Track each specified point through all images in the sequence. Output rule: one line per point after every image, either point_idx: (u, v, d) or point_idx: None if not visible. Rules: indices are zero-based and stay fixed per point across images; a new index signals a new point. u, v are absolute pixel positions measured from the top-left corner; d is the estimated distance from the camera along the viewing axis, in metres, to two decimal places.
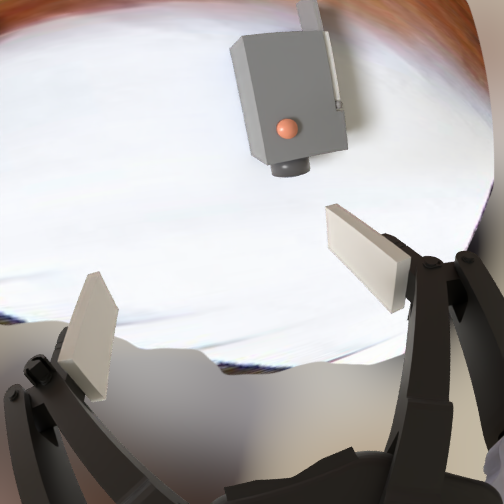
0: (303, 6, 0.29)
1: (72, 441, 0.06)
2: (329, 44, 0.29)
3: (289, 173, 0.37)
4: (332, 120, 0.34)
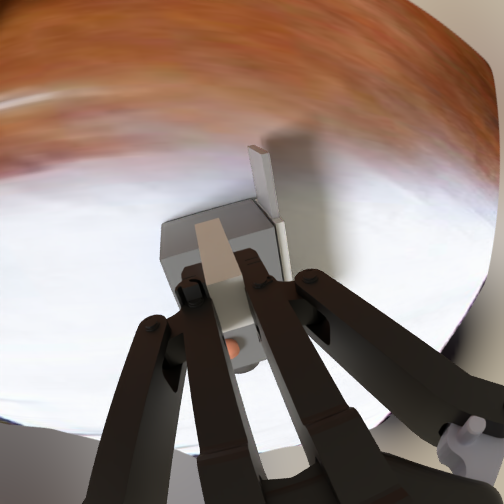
0: (255, 162, 0.27)
1: (192, 372, 0.08)
2: (284, 240, 0.27)
3: (236, 371, 0.35)
4: None
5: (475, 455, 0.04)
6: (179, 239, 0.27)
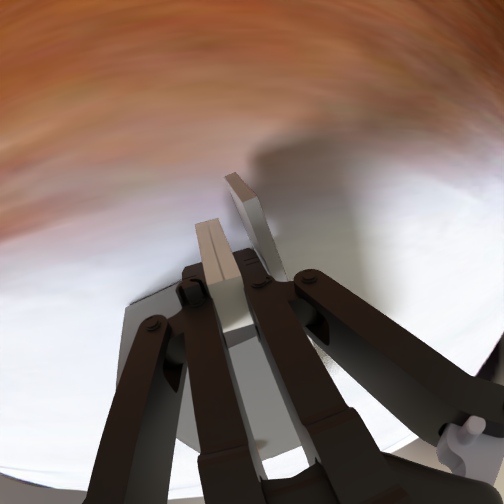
0: (239, 206, 0.16)
1: (193, 372, 0.08)
2: None
3: None
4: None
5: (475, 455, 0.04)
6: None
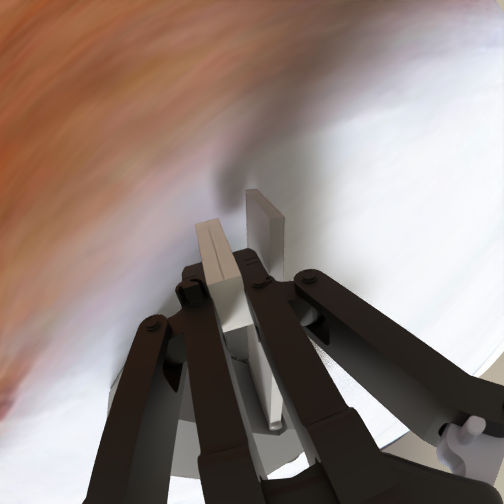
0: (255, 221, 0.16)
1: (193, 372, 0.08)
2: None
3: None
4: (283, 440, 0.21)
5: (475, 455, 0.04)
6: None
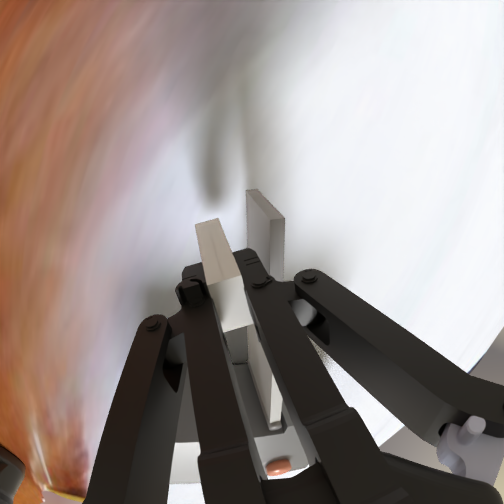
0: (255, 222, 0.16)
1: (193, 372, 0.08)
2: None
3: None
4: (294, 435, 0.21)
5: (475, 455, 0.04)
6: None
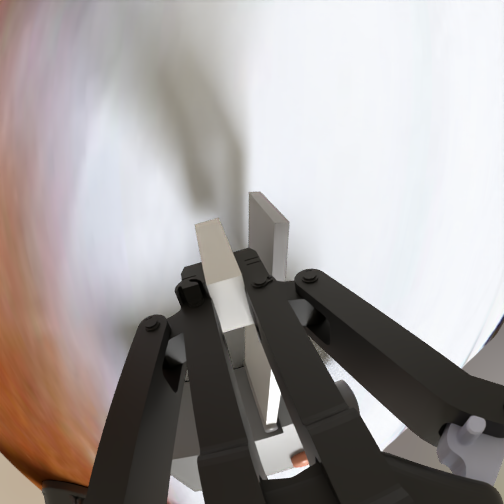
0: (258, 224, 0.16)
1: (192, 372, 0.08)
2: None
3: None
4: None
5: (475, 455, 0.04)
6: None
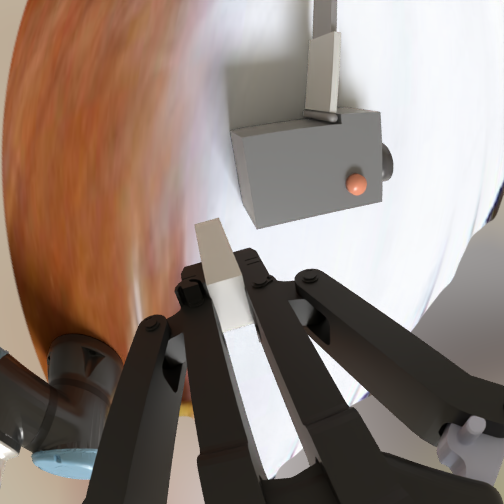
0: (321, 2, 0.25)
1: (192, 372, 0.08)
2: (338, 47, 0.25)
3: (389, 174, 0.34)
4: (351, 129, 0.29)
5: (475, 455, 0.04)
6: (248, 205, 0.34)
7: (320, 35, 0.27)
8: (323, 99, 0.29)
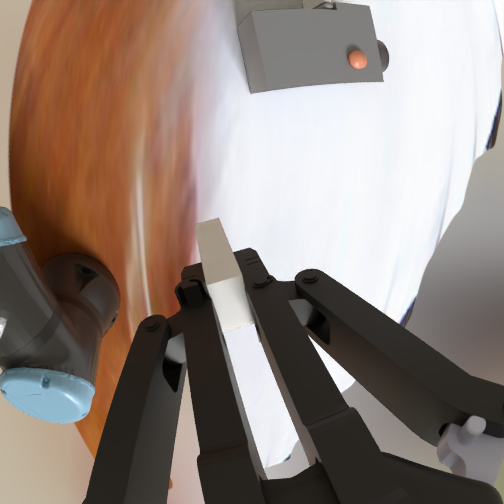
0: None
1: (192, 372, 0.08)
2: None
3: (386, 61, 0.31)
4: (346, 15, 0.26)
5: (475, 455, 0.04)
6: (258, 77, 0.31)
7: None
8: None
